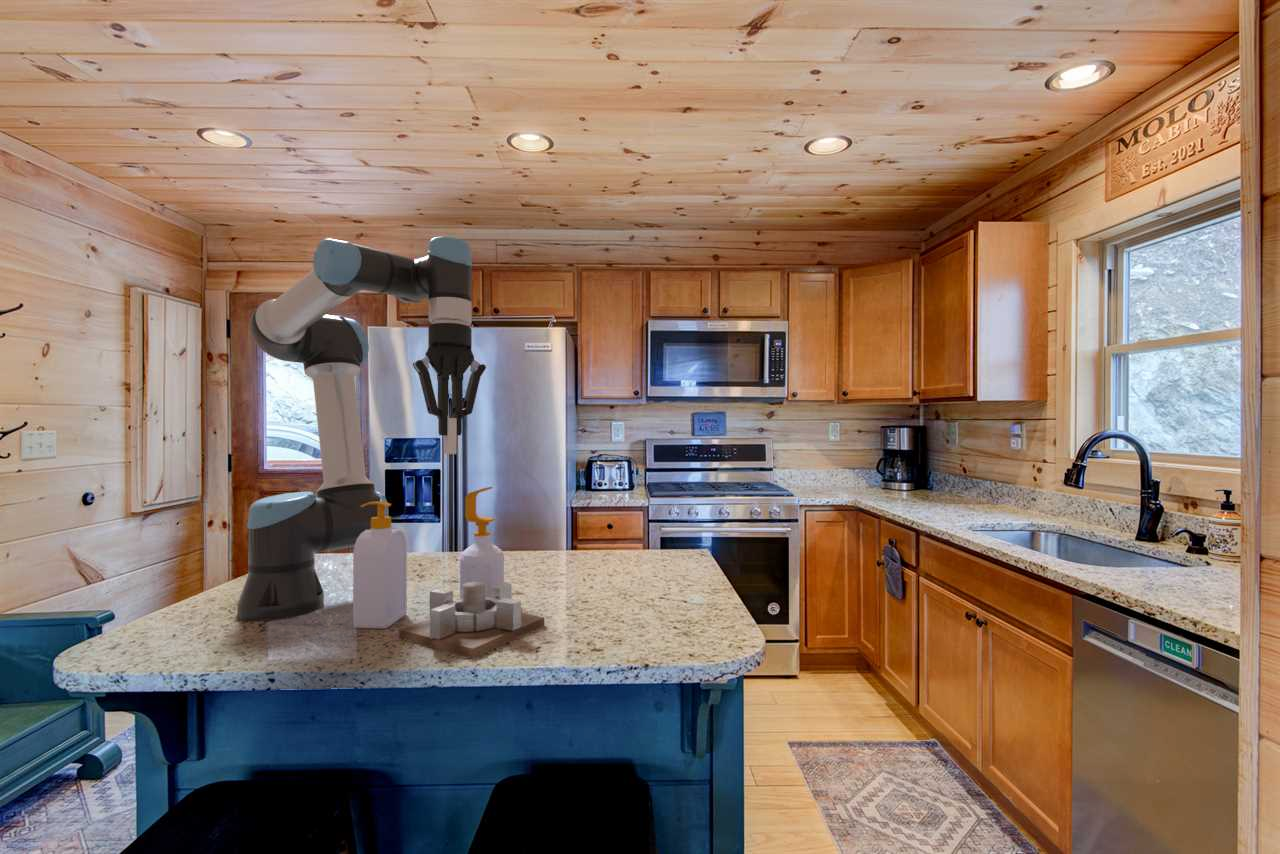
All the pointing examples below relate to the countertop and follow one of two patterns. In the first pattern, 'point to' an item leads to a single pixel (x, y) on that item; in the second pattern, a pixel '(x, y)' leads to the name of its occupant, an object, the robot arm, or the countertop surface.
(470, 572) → the soap bottle
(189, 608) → the countertop surface
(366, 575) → the soap bottle
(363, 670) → the countertop surface
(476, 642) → the hub
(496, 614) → the ring nut
